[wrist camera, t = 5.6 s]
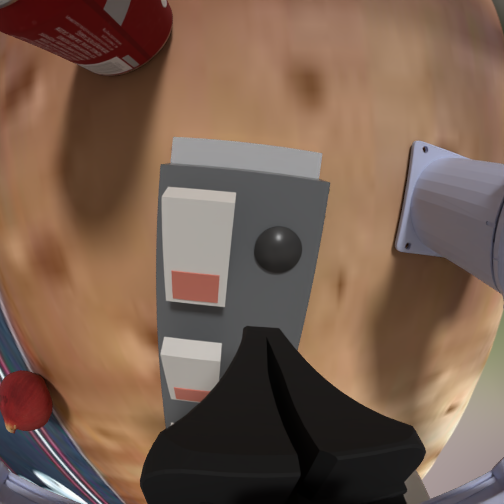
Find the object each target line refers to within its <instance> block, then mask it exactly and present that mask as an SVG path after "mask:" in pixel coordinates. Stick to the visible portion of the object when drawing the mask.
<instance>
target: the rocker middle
mask: <svg viewBox="0 0 504 504" xmlns="http://www.w3.org/2000/svg"><path fill="white" fill-rule="evenodd" d="M221 348H222V343H215V342H205V341H196V340H187V339H179V338H171V337H164V340H163V345H162V349H161V354H160V355H161V360H162V364H163V369H164V373H165V377H166V381H167V385H168V389H169V393H170V397H171V399H174V400H182V401H190V402H199V403H200V402H201V401H202V400H203V399H204V398H205V397H206V396H207V395H208V393H209V392H210V391H211V390H212V389H213V388H214V387H215V385H216V384H217V383H218V382H219V374H220V361H221Z"/></svg>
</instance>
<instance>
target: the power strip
mask: <svg viewBox="0 0 504 504" xmlns="http://www.w3.org/2000/svg"><path fill="white" fill-rule="evenodd" d="M321 160H322V153H317V152H311V151H305V150H298V149H292V148H285V147H278V146H270V145H262V144H254V143H245V142H236V141H225V140H213V139H200V138H184V137H173V144H172V154H171V163H167V164H161V167H160V181H159V196H158V216H157V249H156V295H157V328H158V348H159V363H160V376H161V387H162V398H163V407H164V416H165V424H166V428H168V427H169V426H171V422H172V423H175V422H177V421H178V420H180V419H181V418H182V417H184V416H185V415H186V414H187V413H188V412H190V411H191V410H192V409H193V408H194V407H195V406H196V405H198V404H199V402H190V401H182V400H174V399H171V397H170V393H169V389H168V385H167V381H166V377H165V373H164V369H163V364H162V360H161V355H160V354H161V349H162V345H163V340H164V337H171V338H179V339H187V340H196V341H205V342H215V343H222V348H221V361H220V374H219V380H220V379H221V378H222V376H223V375H224V373H225V372H226V370H227V369H228V367H229V365H230V364H231V362H232V360H233V358H234V356H235V354H236V352H237V350H238V348H239V346H240V343H241V340H242V334H243V328H244V327H246V326H256V327H271V328H280V330H281V331H282V332H283V333H284V335H285V336H286V337H287V339H288V340H289V341H290V342H291V344H292V345H293V346H294V347H295V349H296V350H298V346H299V342H300V338H301V333H302V329H303V325H304V320H305V316H306V311H307V307H308V302H309V297H310V293H311V288H312V283H313V278H314V273H315V268H316V263H317V258H318V252H319V247H320V241H321V236H322V230H323V224H324V219H325V213H326V206H327V200H328V194H329V187H330V182H327V181H324V180H321V179H319V174H320V167H321ZM168 187H178V188H191V189H203V190H214V191H225V192H235V193H236V200H235V209H234V219H233V228H232V238H231V248H230V258H229V268H228V279H227V289H226V300H225V307H219V306H209V305H199V304H190V303H181V302H172V301H166V293H165V279H164V262H163V240H162V195H163V194H164V192H165V191H166V189H167V188H168Z"/></svg>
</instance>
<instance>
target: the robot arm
mask: <svg viewBox="0 0 504 504" xmlns="http://www.w3.org/2000/svg"><path fill="white" fill-rule="evenodd" d="M423 147H425V152H423ZM407 243H409V245H408V247H407V248H405V245H406V244H407ZM395 248H396V249H397V250H398V251H400V252H406V253H414V254H422V255H430V256H438V257H444V258H446V259H448V260H449V261H451V262H453V263H454V264H456V265H458V266H459V267H461V268H462V269H464V270H465V271H467V272H469V273H470V274H472V275H473V276H475V277H476V278H478V279H480V280H481V281H483V282H484V283H486V284H487V285H489V286H490V287H492V288H493V289H495V290H496V291H498V292H499V293H500V294H502V296H503V299H504V164H499V163H493V162H486V161H478V160H471V159H468V158H466V157H463V156H461V155H458V154H456V153H453V152H451V151H448V150H445V149H442V148H440V147H437V146H434V145H431V144H428V143H425V142H422V141H414V142H413V144H412V148H411V157H410V164H409V171H408V178H407V184H406V190H405V196H404V202H403V207H402V212H401V217H400V222H399V227H398V232H397V236H396V241H395ZM503 308H504V306H503ZM425 453H426V451H425V447H424V445H423V443H422V442H421V440H420V438H419V436H418V434H417V432H416V431H415V429H414V428H413V426H411V425H408V424H405V423H402V422H399V421H397V420H394V419H391V418H388V417H386V416H384V415H382V414H379V413H377V412H375V411H373V410H371V409H369V408H367V407H365V406H364V405H362V404H360V403H358V402H357V401H355V400H353V399H352V398H350V397H349V396H347V395H346V394H344V393H343V392H341V391H340V390H338V389H337V388H336V387H335V386H333V385H332V384H331V383H329V382H328V381H327V380H326V379H325V378H323V377H322V376H321V375H320V374H319V373H318V372H317V371H316V370H315V369H314V368H313V367H312V366H311V365H310V364H309V363H308V362H307V361H306V360H305V359H304V358H303V357H302V356H301V354H300V353H299V352H298V351H297V350H296V349H295V347H294V346H293V345H292V344H291V342H290V341H289V340H288V339H287V337H286V336H285V335H284V333H283V332H282V331H281V330H280V328H271V327H256V326H246V327H244V328H243V334H242V340H241V343H240V346H239V348H238V350H237V352H236V354H235V356H234V358H233V360H232V362H231V364H230V365H229V367H228V369H227V370H226V372H225V373H224V375H223V376H222V378H221V379H220V380H219V382H218V383H217V384H216V385H215V387H214V388H213V389H212V390H211V391H210V392H209V393H208V395H207V396H206V397H205V398H204V399H203V400H202V401H201V402H200V403H199V404H198V405H196V406H195V407H194V408H193V409H192V410H191V411H190V412H188V413H187V414H186V415H185V416H184V417H182V418H181V419H180V420H178V421H177V422H175V423H174V424H172V425H171V426H169V427H168V428H166V429H165V430H163V431H162V432H160V434H159V435H158V437H157V439H156V440H155V442H154V443H153V445H152V447H151V449H150V451H149V453H148V455H147V457H146V460H145V462H144V465H143V469H142V474H141V478H140V487H141V489H142V492H143V494H144V496H145V499H146V501H147V503H148V504H407V502H406V500H405V497H404V495H403V494H405V493H406V492H407V487H406V485H405V483H404V482H405V481H406V480H407V479H408V477H409V476H410V475H411V474H412V473H413V472H414V471H415V470H416V469H417V467H418V466H419V465H420V464H421V462H422V461H423V459H424V456H425ZM0 504H81V503H78V502H75V501H73V500H70V499H68V498H65V497H62V496H60V495H58V494H55V493H53V492H51V491H48V490H46V489H44V488H42V487H39V486H37V485H35V484H33V483H31V482H29V481H27V480H25V479H23V478H21V477H19V476H17V475H15V474H14V473H12V472H10V471H9V470H8V468H7V467H6V465H5V464H4V463H3V462H2V461H1V460H0ZM418 504H504V457H503V458H502V459H501V460H500V461H499V462H498V463H497V464H496V465H495V466H494V467H493V469H492V470H491V471H489V472H487V473H486V474H484V475H482V476H480V477H478V478H476V479H474V480H472V481H470V482H468V483H466V484H464V485H462V486H460V487H458V488H455V489H453V490H451V491H449V492H446V493H444V494H442V495H439V496H437V497H434V498H432V499H429V500H426V501H424V502H421V503H418Z"/></svg>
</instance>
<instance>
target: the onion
mask: <svg viewBox="0 0 504 504" xmlns="http://www.w3.org/2000/svg"><path fill="white" fill-rule="evenodd" d="M0 410H1V413H2V415H3V418H4V422H5V425H6V429H7V430H8V431H9V432H11V433H15V430H16V429H19V430H23V431H32V430H35V429H38V428H41V427H42V426H44V425H45V424H46V423H47V422H48V420H49V418H50V415H51V413H52V400H51V396H50V393H49V391H48V389H47V386H46V383H45V380H44V379H43V378H42V377H41V376H40V375H37V374H34V373H32V372H28V371H21V370H20V371H17V372H13V373H10V374H8V375H7V376H6V377H5V378H4V379H3V381H2V383H1V386H0Z"/></svg>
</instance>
